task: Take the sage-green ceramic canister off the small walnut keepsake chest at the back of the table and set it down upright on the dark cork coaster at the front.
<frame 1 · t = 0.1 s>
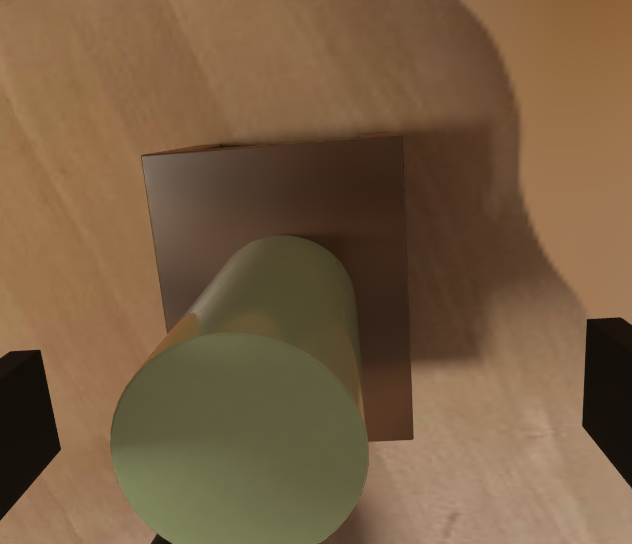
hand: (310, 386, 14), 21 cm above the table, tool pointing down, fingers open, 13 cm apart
canister: (284, 305, 26), point 9 cm above the table, touching walnut keepsake chest
walnut keepsake chest: (298, 259, 34), on the table
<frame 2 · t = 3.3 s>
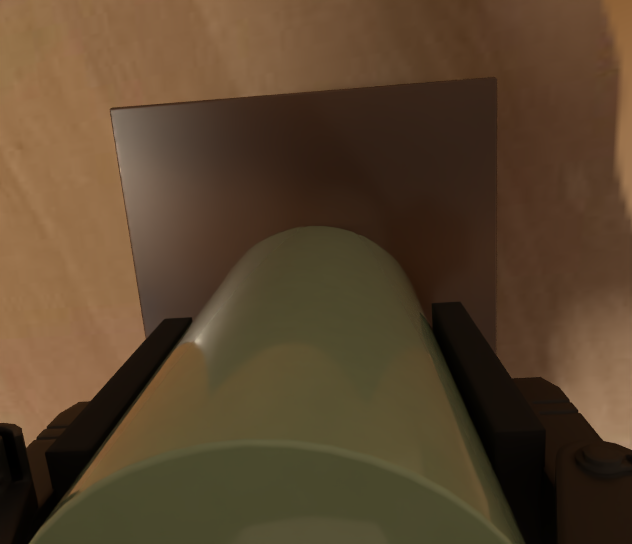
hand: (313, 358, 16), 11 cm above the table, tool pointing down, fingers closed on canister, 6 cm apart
canister: (317, 326, 18), point 9 cm above the table, touching gripper, walnut keepsake chest
walnut keepsake chest: (325, 260, 27), on the table
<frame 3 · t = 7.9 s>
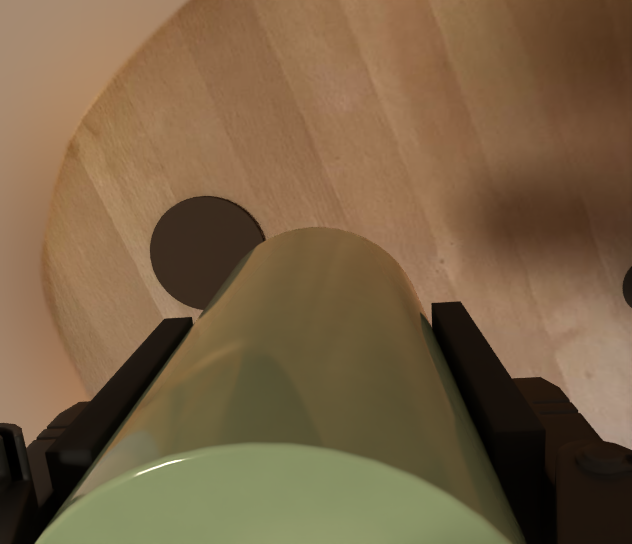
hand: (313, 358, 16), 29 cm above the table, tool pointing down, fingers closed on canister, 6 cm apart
coaster: (208, 254, 45), on the table
canister: (318, 328, 18), point 27 cm above the table, touching gripper
when the fingers open (3 cm above the table, at t = 12.8 s): canister stays where it is, resting on coaster.
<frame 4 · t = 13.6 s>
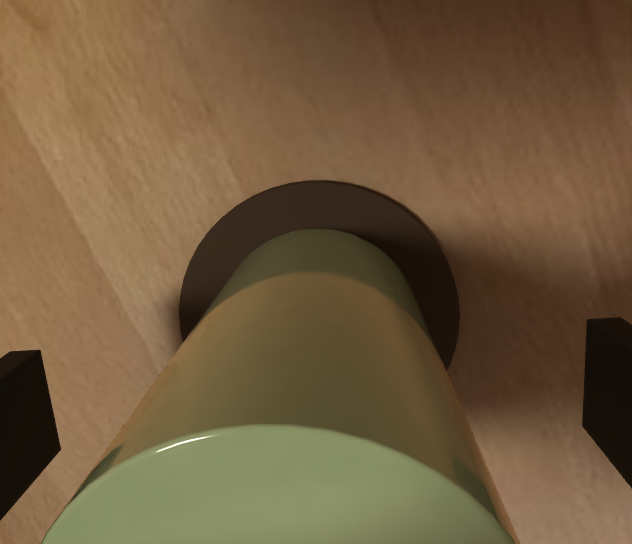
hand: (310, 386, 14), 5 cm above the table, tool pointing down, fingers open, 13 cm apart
coaster: (318, 318, 19), on the table
canister: (318, 326, 19), resting on coaster
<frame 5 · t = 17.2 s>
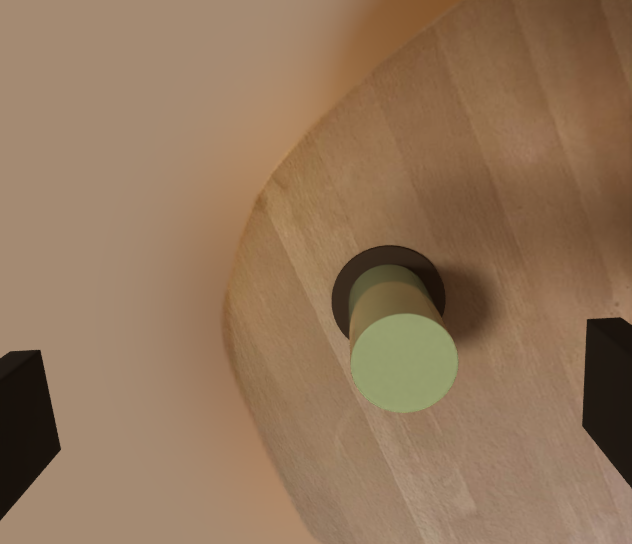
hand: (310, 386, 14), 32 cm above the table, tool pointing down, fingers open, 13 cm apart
coaster: (387, 300, 46), on the table
canister: (388, 303, 46), resting on coaster
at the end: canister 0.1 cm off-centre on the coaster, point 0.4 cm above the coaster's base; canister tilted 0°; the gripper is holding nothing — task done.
